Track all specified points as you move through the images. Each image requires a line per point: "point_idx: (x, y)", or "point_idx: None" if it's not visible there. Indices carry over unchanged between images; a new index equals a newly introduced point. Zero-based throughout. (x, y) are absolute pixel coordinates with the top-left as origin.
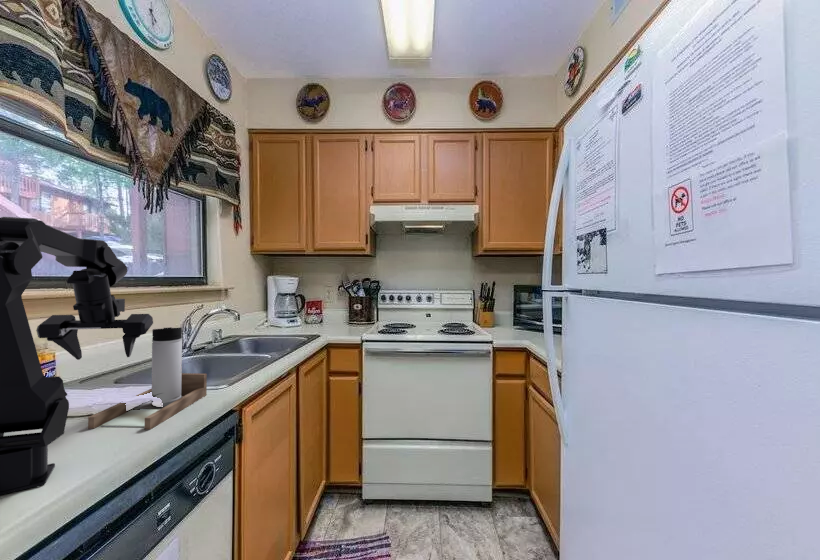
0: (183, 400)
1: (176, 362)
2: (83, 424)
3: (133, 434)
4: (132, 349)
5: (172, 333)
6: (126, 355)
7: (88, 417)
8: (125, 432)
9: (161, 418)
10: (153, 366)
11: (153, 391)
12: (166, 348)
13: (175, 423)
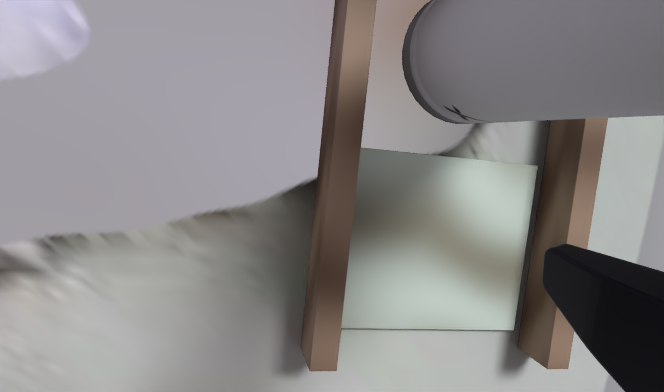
0: (598, 150)
1: None
2: (244, 305)
3: (500, 384)
4: (634, 267)
5: None
6: (564, 314)
7: (310, 369)
8: (464, 371)
9: None
10: (575, 97)
11: (467, 109)
12: None
13: None
